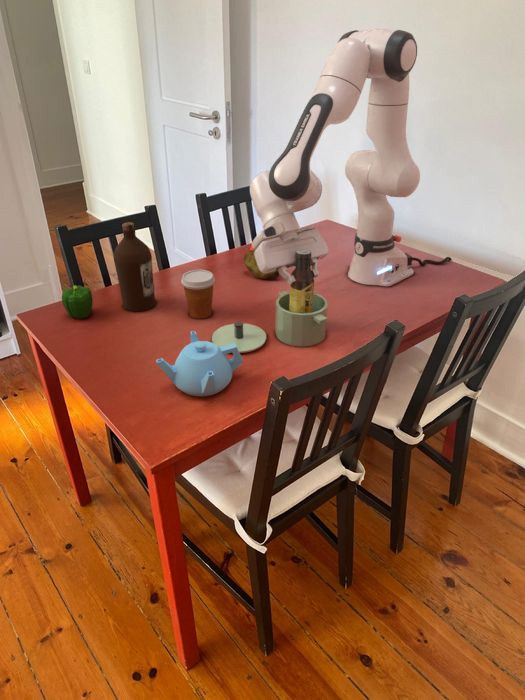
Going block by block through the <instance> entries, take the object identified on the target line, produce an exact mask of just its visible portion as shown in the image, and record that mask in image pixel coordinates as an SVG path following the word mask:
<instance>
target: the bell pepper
mask: <svg viewBox="0 0 525 700" xmlns="http://www.w3.org/2000/svg"><path fill="white" fill-rule="evenodd" d="M61 302H62V305H63V307H64V309H65V311H66V313H67V315H68V316H69V317H70V318H75V319H78V320H81V319H87V318H88V317H89V316H90V314H91V313H92V309H93V294H92V290H91V288H90V287H85V286H82V285H73V286H72V288H64V289H63V292H62V294H61Z"/></svg>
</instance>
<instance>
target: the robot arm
mask: <svg viewBox="0 0 525 700" xmlns="http://www.w3.org/2000/svg"><path fill="white" fill-rule="evenodd" d="M417 56H418V44H417V41H416V39H415V37H414V35H413V34H412V33H410V32H409V31H406V30H400V29H397V30H393V29H389V28H387V29H386V28H374V29H365V30H357V29H355V30H349V31H348V32H345V33H343V34H342V36H341V37H340V38H339V39H338V41H337V43H336V44H335V46H334V47H333V49H332V51H331V53H330V54H329V56H328V58H327V60H326V62H325V64H324V66H323V68H322V71H321V73H320V75H319V77H318V81H317V83H316V86H315V88H314V91H313V93H312V96H311V97H310V99H309V100H308V102H307V104H306V106H305V107H304V109H303V111H302V113H301V115H300V117H299V119H298V122H297V124H296V125H295V128H294V130H293V132H292V133H291V134H292V135H291V137H290V139H289V141H288V143H287V145H286V147H285V148H284V150H283V152H282V153H281V154H280V155H279V156H278V158H277V159H276V160H275V161H274V162H273V164H272V166H271V167H270V169H269V170H265V171H262V172H260V173H258V174H257V175H255V177H254V178H253V179H252V181H251V182H250V184H249V195H250V198H251V201H252V204H253V207H254V210H255V212H256V214H257V216H258V218H260V221H261V223H262V228H263V230H261V231H260V232H259V233H257V235H256V236H255V237H254V238H253V240H252V241H251V245H252V247H253V248H254V249H256V250H255V253H254V255H255V259H256V262H257V265H258V267H259V270H260V271H261V272H262V273H264V274H267V273H270V272H274V271H278V272H279V276H281V277H282V278H283V279H285V281H286V283H287V284H288V286H290V284H294V283H295V282H296V280H295V278H294V275H292V276H291V274H290V273H289V272H288V271H287V270H288V269H289V268H292V267H295V265H296V256H295V252H296V250H298V249H308V250H310V251H311V259H310V266H311V271H312V275H313V278H314V279H315V278H318V277H319V276H320V273H319V270H318V263H319V260H320V261H321V260H323V259H325V258H326V257H327V256H328V255H329V252H330V249H329V246H328V245H327V243H326V241H325V239H324V237H323V236H322V234H321V233H320V231H319V229H318V228H316V227H313V226H311V225H308V226H306V227H301V226H300V224H299V222H298V220H297V217H296V215H295V213H297V212H301V211H304V210H306V209H309V208H311V207H314V205H316V204H317V203H318V202H319V200H320V198H321V196H322V193H323V184H322V182H321V180H320V178H319V177H318V176H317V175H316V174H315V173H314V171H312V170H311V160H312V157H313V155H314V152H315V150H316V148H317V146H318V144H319V141H320V139H321V137H322V135H323V133H324V131H325V129H326V128H328V127H329V126H331V125H339V124H342V123H344V122H347V120H349V119H350V117H351V115H352V114H353V113H354V110H355V109H356V107H357V104H358V102H359V99H360V97H361V95H362V92H363V90H364V86H365V83H366V80H367V79H371V80H370V84H369V91H368V98H367V100H368V101H367V110H366V111H367V112H366V123H365V132H366V136H368V138H369V139H370V140H371V142H372V145H373V147H374V150H371V149H370V150H369V149H363V150H361V149H360V150H356V151H353V152H352V153H351V154H350V155H349V156H348V158H347V160H346V162H345V164H344V165H345V166H344V174H345V177H346V179H347V180H348V181H349V183H350V184H351V187H352V189H353V193H354V195H355V199H356V205H357V225H356V226H357V227H356V232H355V234H354V243H353V245H354V249H353V253H352V259H351V263H350V264H349V269H348V273H347V277H348V278H349V279H350V280H351V281H353V282H356V283H358V284H362V285H366V286H367V285H368V286H381V287H391V286H393V285H395V284H398V283H399V282H401V281H403V280H405V279H406V278H407V279H408V278H409V277H410V276H412V275H414V269H413V268H412V267H410V266H412V264H413V261H416V262H417V263H418V264H419V265H420V266H425V264H426V263H430V264H434V265H443V264H444V263H446V262H447V261H449V262H452V261H453V259H452V258H451V257H450V256H446V257H445V258H444V259H442V260H439V261H437V260H432V259H423V261H422V259H420V258H418V257H413V256H412V255H410V254H409V253H406V252H403V251H402V249H400V248H399V247H397V246H396V245H395V242H396V243H401V241H402V236H400V235H397V234H396V235H394V234H393V231H394V222H395V210H394V208H393V207H392V205H391V204H390V202H389V200H388V197H391V198H408V197H409V196H411V195H413V194H414V193H415V191H416V190H417V188H418V186H419V184H420V181H421V171H420V168H419V166H418V165H417V163H416V162H415V161H414V159H413V158H412V155H411V152H410V149H409V146H408V145H409V144H408V140H407V120H408V108H409V99H410V73H411V71H412V70H413V68H414V66H415V64H416V61H417ZM387 196H388V197H387Z"/></svg>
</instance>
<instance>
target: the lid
mask: <svg viewBox="0 0 525 700" xmlns="http://www.w3.org/2000/svg"><path fill="white" fill-rule="evenodd" d="M266 342H267V333H266V332H265V331H264V329H262V328H261V327H259V326H257V325H254V324H251V323H245V322H242V321H235V322H233V323H230V324H225V325H223V326H220V327H219V328H217V329H216V330H215V331H214V332H213V333H212V335H211V343H214V344H215V345H217V346H218V347H223V346H226V345H230V344H233V343H235V344H236V346H237V349H238V351H239V353H240V354H244V353H250V352H254V351H256V350H259V349H260V348H262V347H263V346H264V344H265V343H266ZM231 353H232V352H231ZM231 353H230V354H231ZM232 354H233V353H232Z"/></svg>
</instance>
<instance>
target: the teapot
mask: <svg viewBox="0 0 525 700" xmlns="http://www.w3.org/2000/svg"><path fill="white" fill-rule="evenodd" d="M231 352H232V356H233V357H231V359H228V357H227V355H228V354H231ZM155 363H156V364H157V365H158V367H160V369H161V370H162V371H163V372H164V374H165V375H166V376H167V377H168V379H169V380H170V381H171V382H172V383H173V384H174V385H175V386H176V388H177V389H179V390H180V391H181V392H183V393H185V394H186V395H189V396H192V397H198V398H199V397H209V396H213V395H216V394H218V393H220V392H221V391H223V390H224V389H225V388H226V387H227V386H228V385H229V384H230V382H231V381H232V378H233V372H235V370H236V369H237V368H239V367H240V366H241V365H242V364H243V363H244V360H243V358H242V356H241V353H239V351H238V349H237V346H236V344H235V343H233V344H230V345H226V346H223V347H218V346H217V345H215V344H214V343H213V342H212V341H207V340H200V339H199V337H198V335H197V332H196V330H193V331H190V343H188V344H186V345H185V346H184V348H182V349H181V351H180V353H179V354H178V356H177V358H176V360H175V362H174V364H173V365H171V364H170V363H169V362H167V360H165V359H164V358H163V357H161V358H158V359H155Z"/></svg>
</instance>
